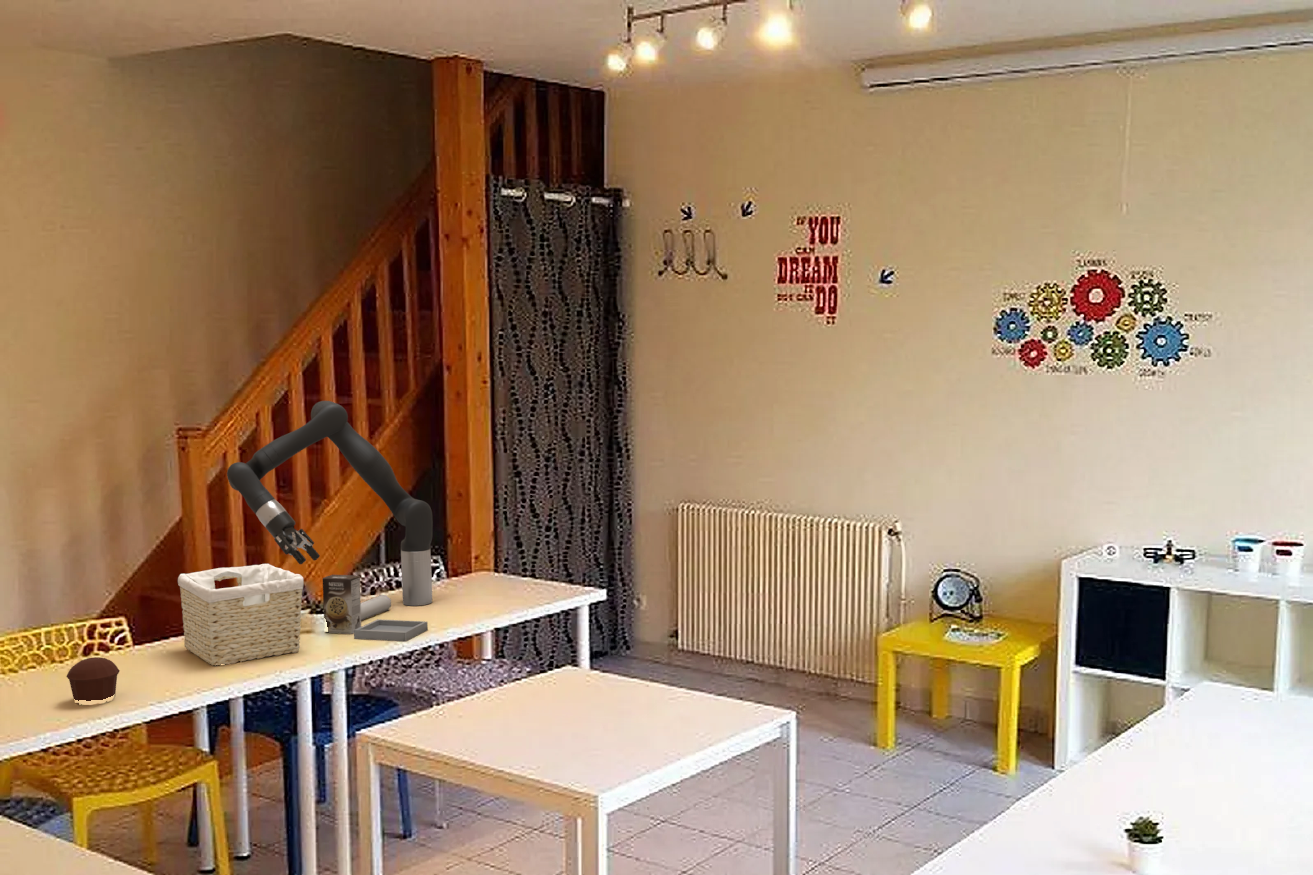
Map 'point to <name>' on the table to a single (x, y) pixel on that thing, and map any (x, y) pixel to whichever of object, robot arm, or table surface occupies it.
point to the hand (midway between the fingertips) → (310, 560)
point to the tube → (375, 606)
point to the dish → (390, 630)
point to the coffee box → (342, 603)
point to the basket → (241, 613)
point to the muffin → (93, 679)
